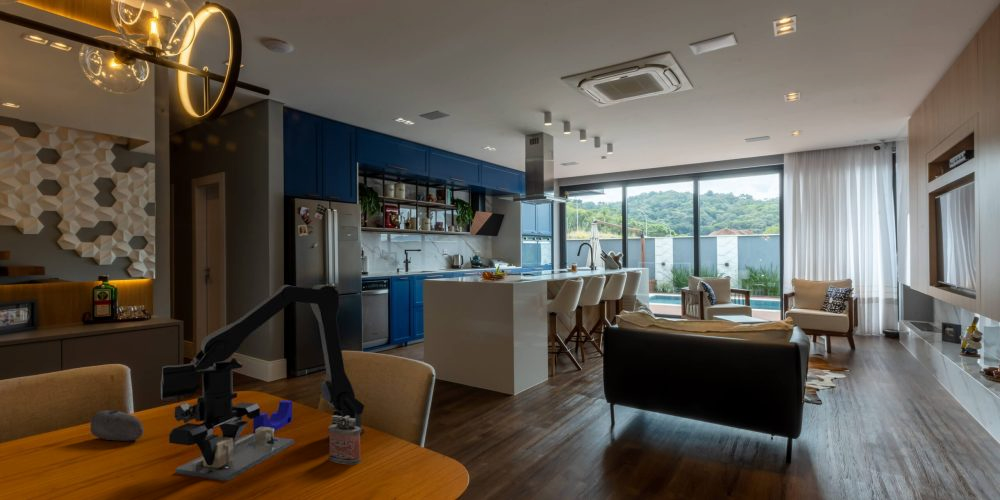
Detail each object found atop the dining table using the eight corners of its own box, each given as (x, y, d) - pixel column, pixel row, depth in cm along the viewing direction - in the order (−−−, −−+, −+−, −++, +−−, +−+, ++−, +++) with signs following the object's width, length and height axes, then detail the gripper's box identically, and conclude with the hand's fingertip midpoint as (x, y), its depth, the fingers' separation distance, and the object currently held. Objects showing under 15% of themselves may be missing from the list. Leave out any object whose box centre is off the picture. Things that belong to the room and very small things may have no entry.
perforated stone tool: (151, 438, 121) (151, 411, 121) (130, 446, 116) (130, 418, 116) (109, 432, 125) (109, 407, 125) (87, 440, 120) (87, 413, 120)
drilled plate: (293, 443, 117) (293, 427, 117) (227, 481, 98) (227, 461, 98) (248, 438, 121) (248, 422, 121) (175, 473, 101) (175, 454, 101)
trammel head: (236, 460, 105) (236, 438, 105) (221, 468, 101) (221, 445, 101) (218, 458, 106) (218, 436, 106) (203, 466, 102) (203, 443, 102)
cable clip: (277, 421, 133) (277, 400, 133) (292, 422, 133) (292, 400, 133) (248, 437, 122) (248, 414, 122) (263, 438, 121) (263, 415, 121)
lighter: (364, 459, 107) (363, 415, 107) (355, 465, 104) (354, 420, 104) (335, 454, 110) (334, 412, 110) (325, 460, 107) (325, 417, 107)
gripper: (224, 377, 115) (224, 440, 115) (148, 400, 97) (149, 475, 97) (261, 380, 112) (261, 445, 112) (190, 404, 94) (190, 482, 94)
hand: (218, 460), depth 104 cm, fingers closed on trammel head, 4 cm apart
